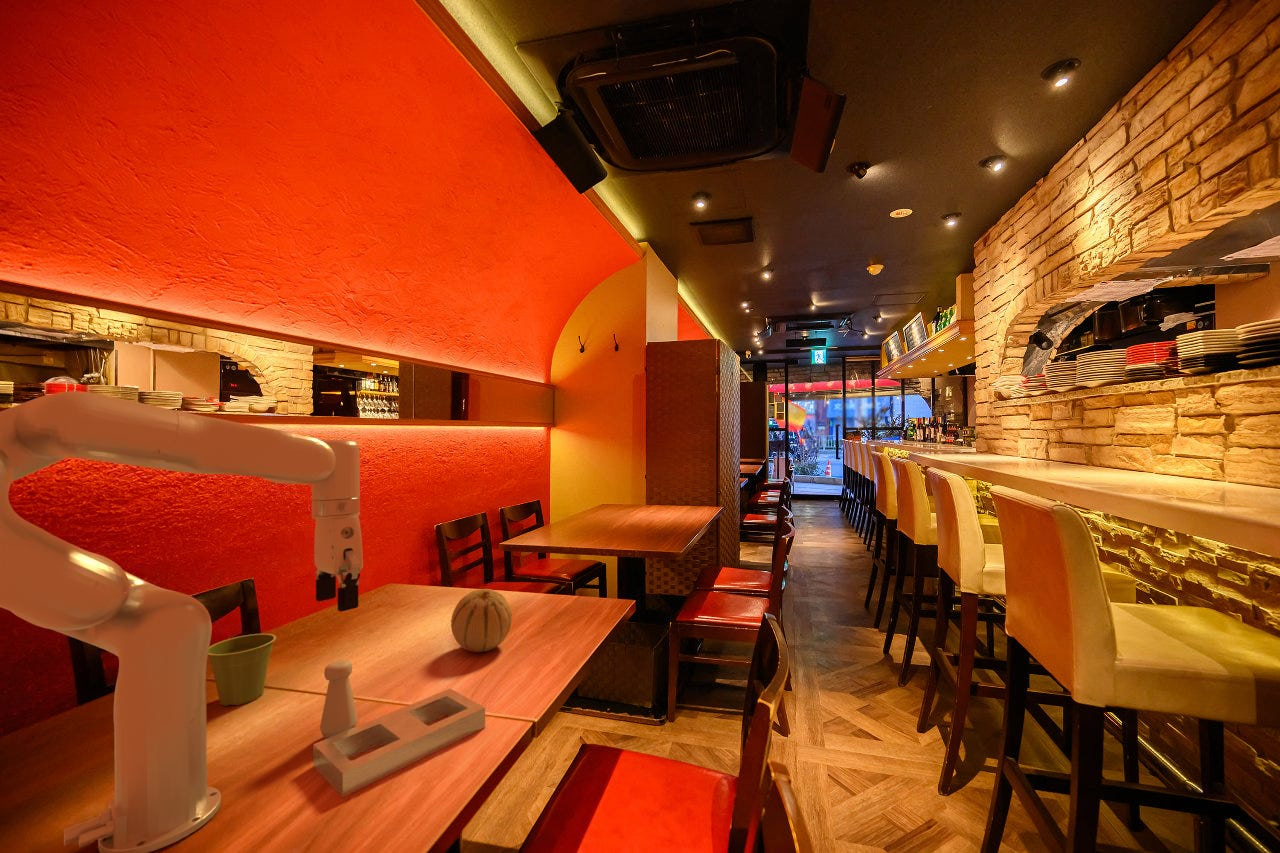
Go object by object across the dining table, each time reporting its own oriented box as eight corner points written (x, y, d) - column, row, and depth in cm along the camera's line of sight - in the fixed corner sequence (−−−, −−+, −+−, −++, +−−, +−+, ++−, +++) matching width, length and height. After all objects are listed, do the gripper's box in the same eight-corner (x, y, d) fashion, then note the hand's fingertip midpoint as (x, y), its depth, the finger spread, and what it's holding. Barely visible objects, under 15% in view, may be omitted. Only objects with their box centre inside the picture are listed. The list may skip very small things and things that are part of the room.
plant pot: (290, 687, 114) (289, 634, 114) (235, 716, 103) (234, 657, 103) (248, 682, 117) (247, 630, 117) (190, 709, 106) (189, 652, 106)
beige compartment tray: (342, 797, 78) (342, 773, 78) (313, 766, 86) (313, 744, 86) (485, 727, 96) (485, 707, 96) (450, 706, 104) (450, 688, 104)
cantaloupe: (481, 634, 142) (480, 578, 143) (524, 643, 136) (523, 584, 136) (437, 655, 129) (436, 593, 129) (482, 666, 122) (481, 600, 123)
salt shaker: (340, 747, 91) (339, 671, 91) (312, 744, 92) (311, 669, 92) (365, 729, 97) (363, 657, 97) (337, 726, 98) (336, 655, 98)
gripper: (379, 509, 93) (379, 608, 93) (339, 503, 104) (339, 591, 104) (332, 514, 87) (333, 619, 87) (295, 507, 98) (295, 601, 98)
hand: (336, 604), depth 95 cm, fingers open, 9 cm apart
